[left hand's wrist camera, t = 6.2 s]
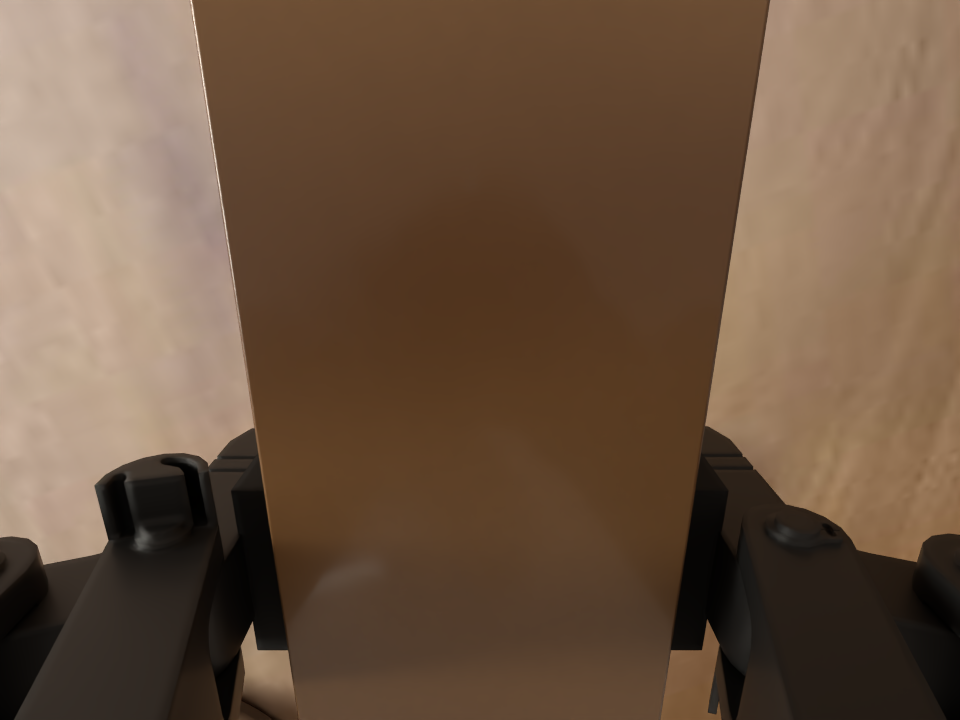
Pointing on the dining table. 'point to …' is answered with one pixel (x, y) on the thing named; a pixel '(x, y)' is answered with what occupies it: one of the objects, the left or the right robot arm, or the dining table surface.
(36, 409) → the dining table surface
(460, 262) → the beam
